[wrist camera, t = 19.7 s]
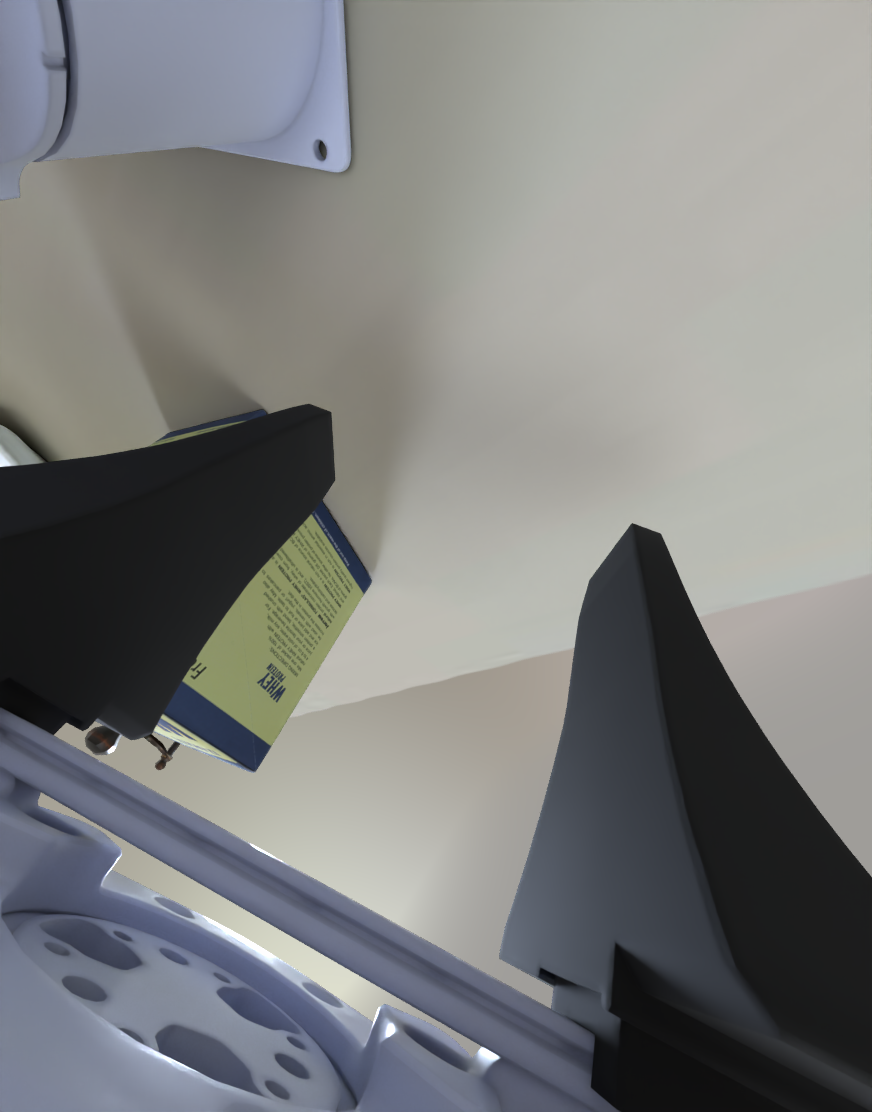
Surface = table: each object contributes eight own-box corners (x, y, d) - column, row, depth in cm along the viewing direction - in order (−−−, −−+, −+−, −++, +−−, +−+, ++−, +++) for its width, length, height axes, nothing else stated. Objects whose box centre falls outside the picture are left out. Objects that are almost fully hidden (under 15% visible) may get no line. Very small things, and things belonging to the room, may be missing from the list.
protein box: (261, 402, 24) (-15, 611, 14) (376, 581, 33) (259, 778, 23) (164, 429, 29) (-89, 596, 19) (287, 577, 38) (161, 739, 29)
